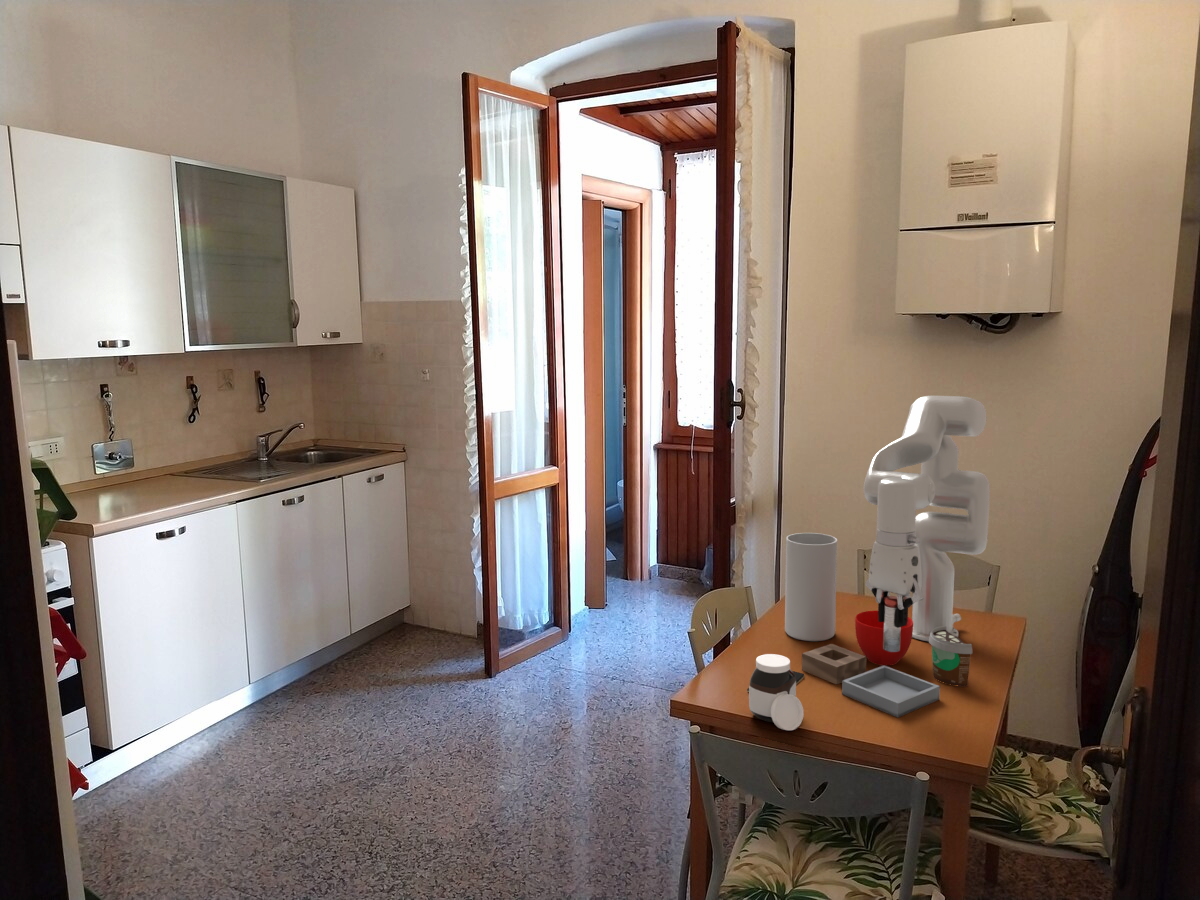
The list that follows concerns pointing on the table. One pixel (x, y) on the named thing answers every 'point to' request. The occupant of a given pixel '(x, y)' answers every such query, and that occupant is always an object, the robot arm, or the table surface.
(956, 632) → the robot arm
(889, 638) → the steel pin
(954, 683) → the food container
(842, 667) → the walnut socket block
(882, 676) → the slate tray
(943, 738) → the table surface
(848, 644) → the table surface
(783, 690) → the jar and lid
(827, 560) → the cylinder vase
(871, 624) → the red bowl
